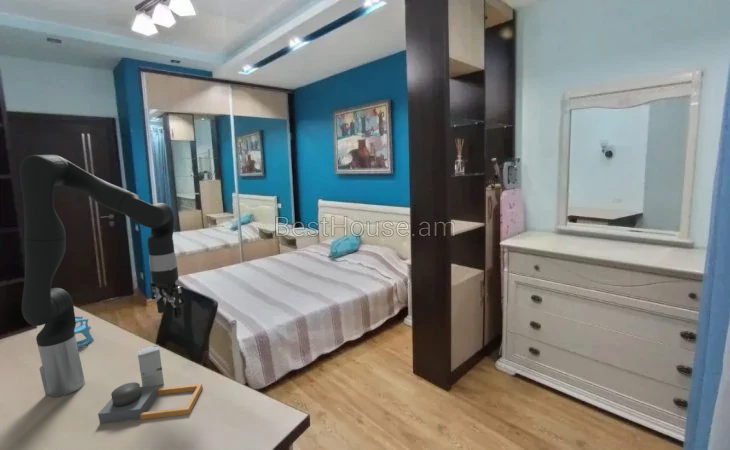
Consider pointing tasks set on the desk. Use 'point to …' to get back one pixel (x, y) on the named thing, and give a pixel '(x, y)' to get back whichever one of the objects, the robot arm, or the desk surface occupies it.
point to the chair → (83, 331)
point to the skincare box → (150, 366)
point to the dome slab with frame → (143, 402)
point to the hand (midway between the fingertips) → (169, 314)
